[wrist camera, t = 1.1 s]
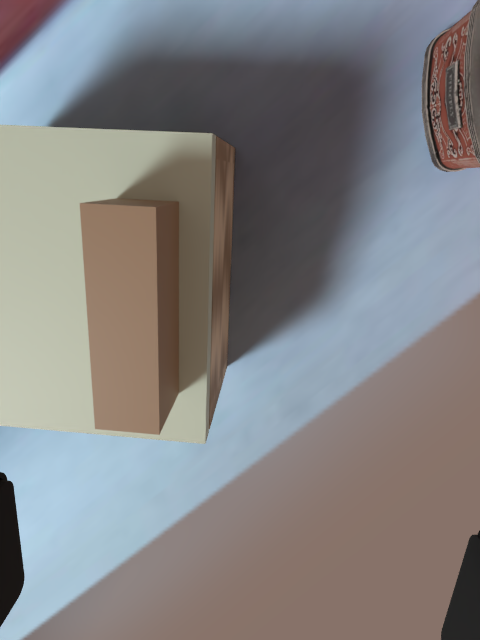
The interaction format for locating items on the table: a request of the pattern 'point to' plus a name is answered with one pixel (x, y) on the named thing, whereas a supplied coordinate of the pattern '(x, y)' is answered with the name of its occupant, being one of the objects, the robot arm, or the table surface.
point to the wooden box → (221, 267)
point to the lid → (106, 281)
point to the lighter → (453, 95)
